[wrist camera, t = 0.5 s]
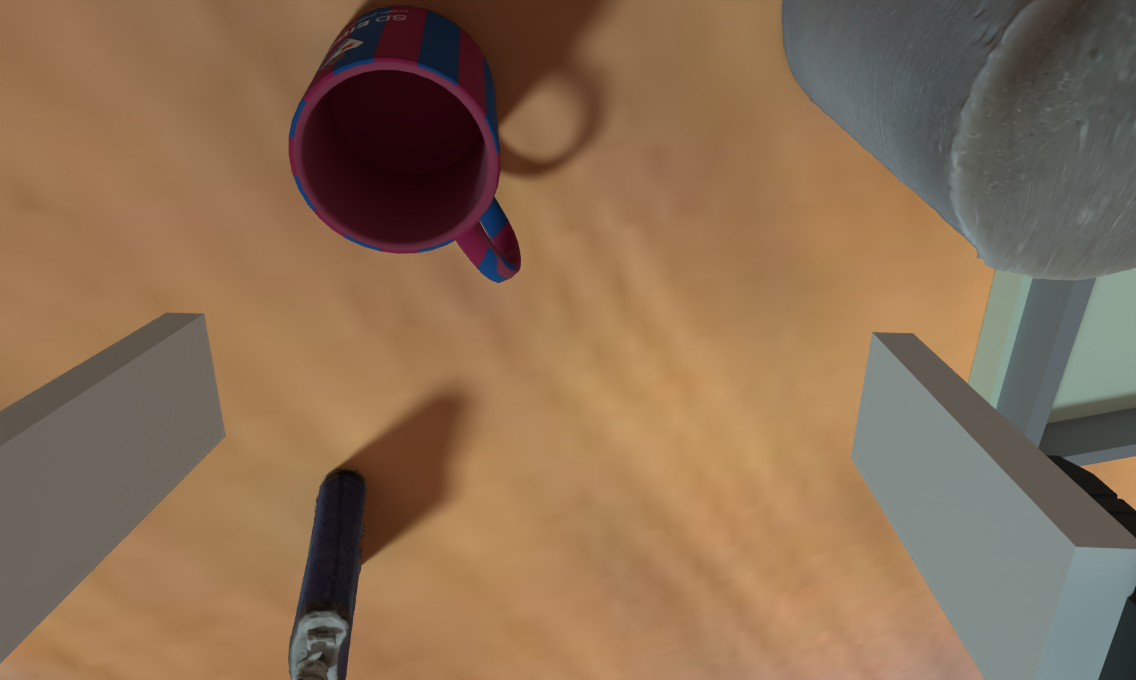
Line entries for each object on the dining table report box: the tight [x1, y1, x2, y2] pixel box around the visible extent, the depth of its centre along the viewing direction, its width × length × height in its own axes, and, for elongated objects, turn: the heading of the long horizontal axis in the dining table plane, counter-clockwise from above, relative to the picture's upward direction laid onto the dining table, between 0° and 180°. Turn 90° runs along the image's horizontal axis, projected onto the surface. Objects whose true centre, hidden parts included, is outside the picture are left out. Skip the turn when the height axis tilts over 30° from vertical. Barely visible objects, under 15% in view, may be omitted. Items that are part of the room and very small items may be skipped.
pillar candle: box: [782, 0, 1136, 281], centre depth 23 cm, size 10×10×15 cm
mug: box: [289, 6, 521, 283], centre depth 28 cm, size 7×10×7 cm
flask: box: [288, 469, 367, 680], centre depth 39 cm, size 9×3×11 cm, turn 168°
